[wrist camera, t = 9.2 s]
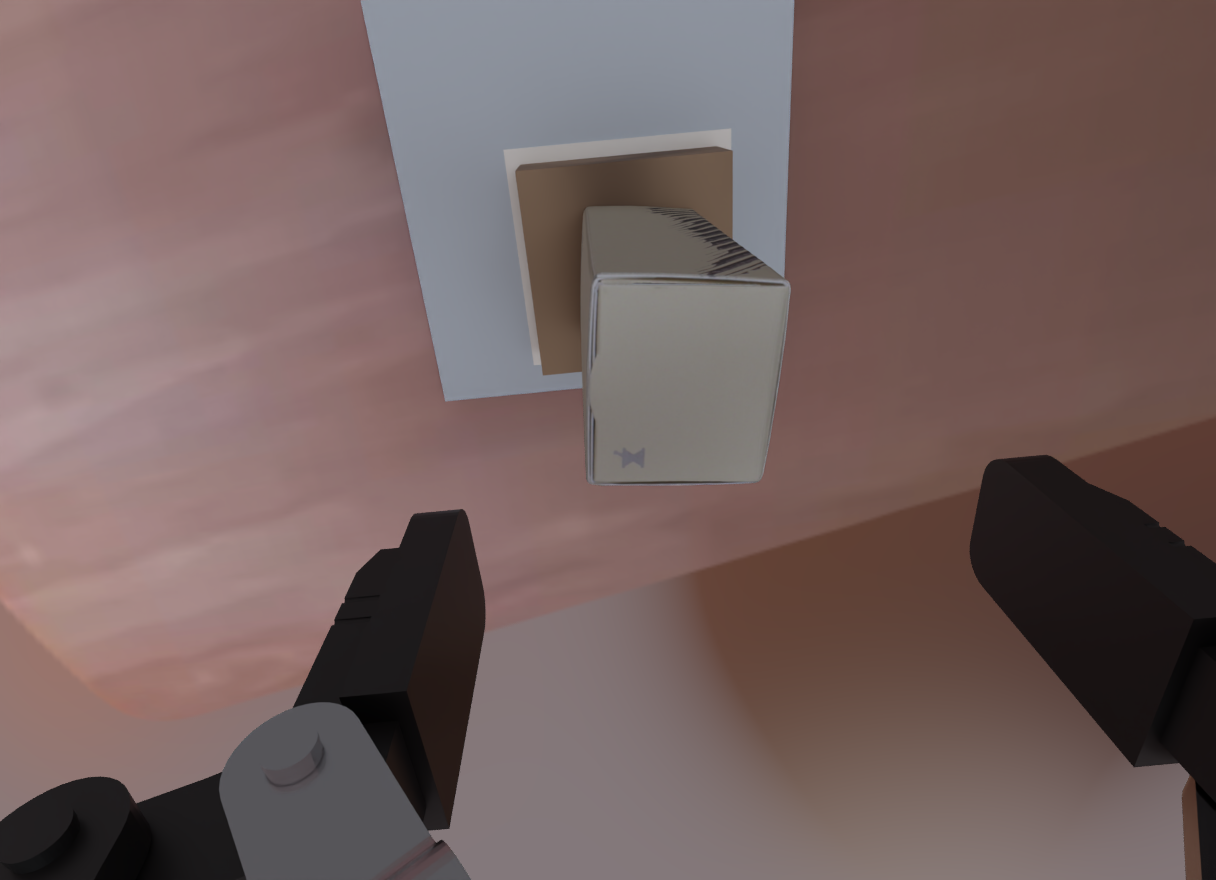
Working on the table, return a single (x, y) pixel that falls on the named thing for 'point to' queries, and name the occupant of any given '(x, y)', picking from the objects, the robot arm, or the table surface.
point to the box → (676, 349)
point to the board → (562, 139)
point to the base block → (622, 180)
